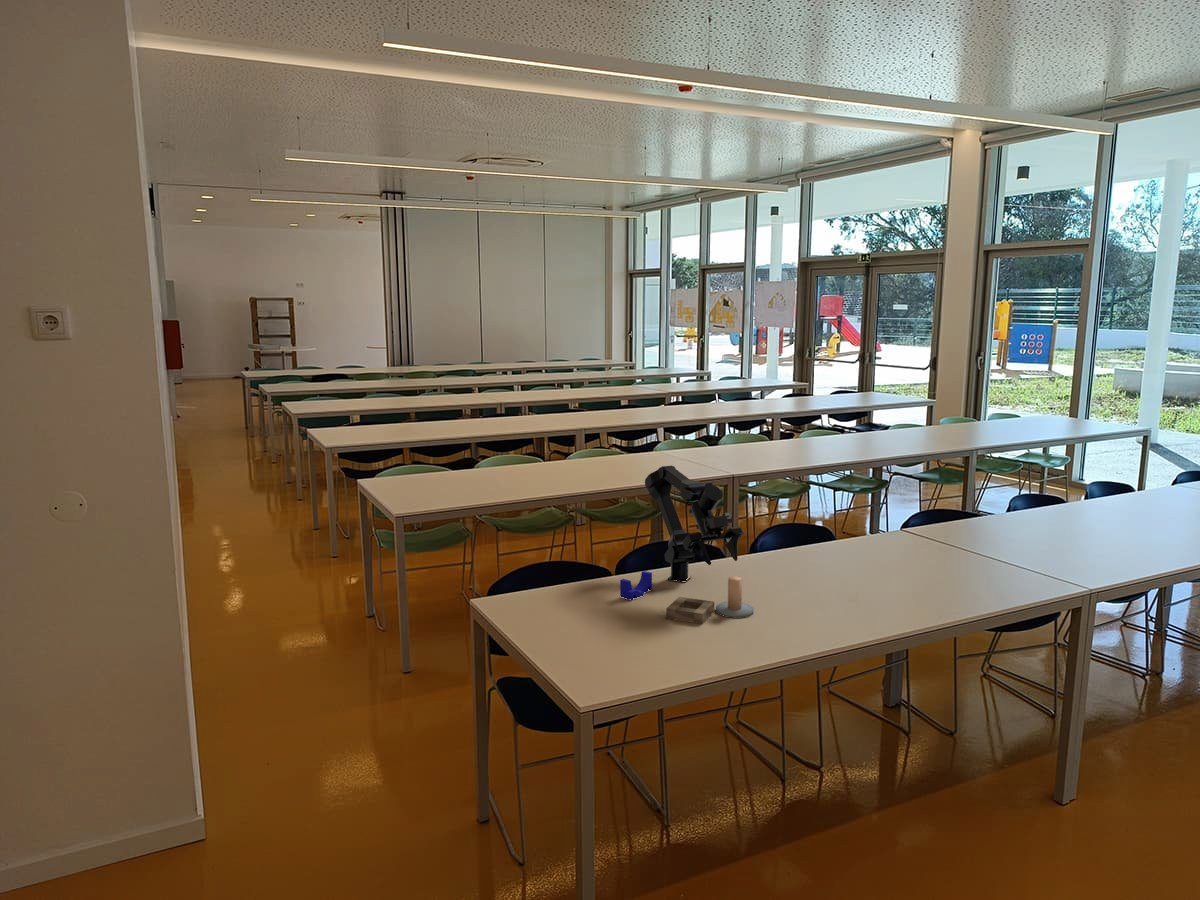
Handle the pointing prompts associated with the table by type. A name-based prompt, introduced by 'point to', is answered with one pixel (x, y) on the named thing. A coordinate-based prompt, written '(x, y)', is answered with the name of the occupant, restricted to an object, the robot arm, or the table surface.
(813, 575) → the table surface
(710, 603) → the pocket block
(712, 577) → the table surface
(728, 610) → the slate mat
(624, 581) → the cable clip
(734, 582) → the post
